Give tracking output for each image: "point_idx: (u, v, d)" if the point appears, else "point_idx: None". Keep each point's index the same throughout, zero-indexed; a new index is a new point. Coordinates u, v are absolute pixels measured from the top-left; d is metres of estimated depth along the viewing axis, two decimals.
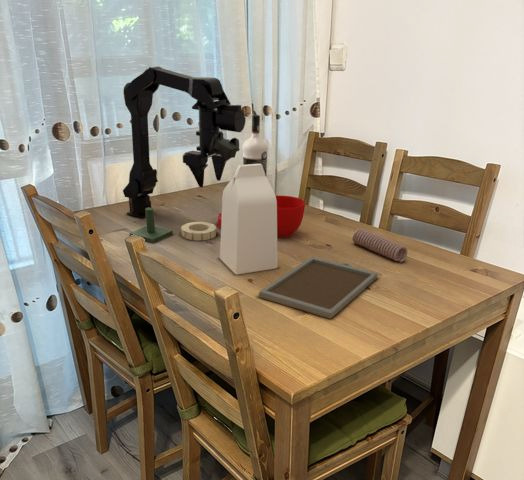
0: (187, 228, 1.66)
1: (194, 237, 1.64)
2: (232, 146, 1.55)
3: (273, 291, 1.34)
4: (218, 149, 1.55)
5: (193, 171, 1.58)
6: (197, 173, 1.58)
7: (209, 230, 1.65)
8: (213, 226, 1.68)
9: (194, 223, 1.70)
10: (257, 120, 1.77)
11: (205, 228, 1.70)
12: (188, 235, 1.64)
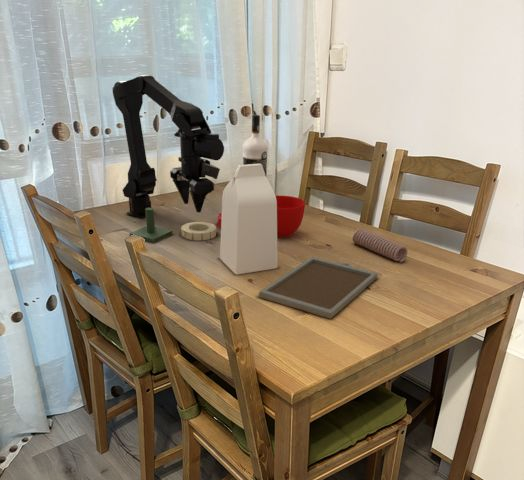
0: (187, 228, 1.66)
1: (194, 237, 1.64)
2: (214, 166, 1.65)
3: (273, 291, 1.34)
4: (209, 172, 1.63)
5: (196, 199, 1.60)
6: (199, 199, 1.61)
7: (209, 230, 1.65)
8: (213, 226, 1.68)
9: (194, 223, 1.70)
10: (257, 120, 1.77)
11: (205, 228, 1.70)
12: (188, 235, 1.64)
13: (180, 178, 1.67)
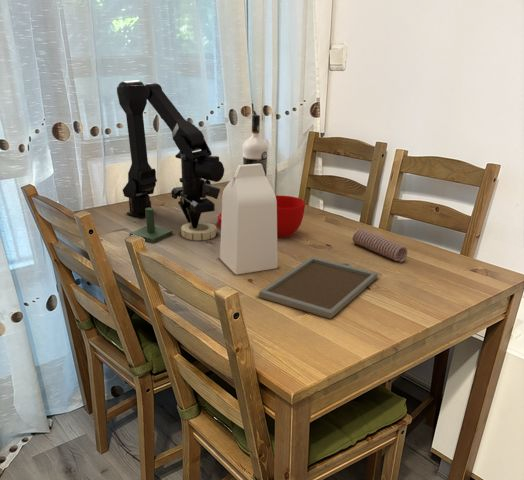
0: (187, 228, 1.66)
1: (194, 237, 1.64)
2: (214, 186, 1.68)
3: (273, 291, 1.34)
4: (209, 192, 1.66)
5: (192, 215, 1.66)
6: (195, 216, 1.67)
7: (209, 230, 1.65)
8: (213, 226, 1.68)
9: None
10: (257, 120, 1.77)
11: (205, 228, 1.70)
12: (188, 235, 1.64)
13: (185, 201, 1.68)
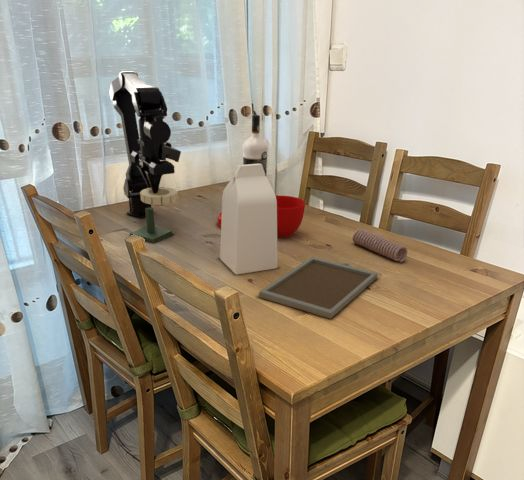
0: (146, 192, 1.59)
1: (153, 201, 1.56)
2: (175, 149, 1.61)
3: (273, 291, 1.34)
4: (169, 154, 1.58)
5: (151, 179, 1.58)
6: (155, 180, 1.59)
7: (169, 194, 1.58)
8: (174, 191, 1.61)
9: None
10: (257, 120, 1.77)
11: (166, 193, 1.63)
12: (147, 199, 1.57)
13: (145, 164, 1.60)
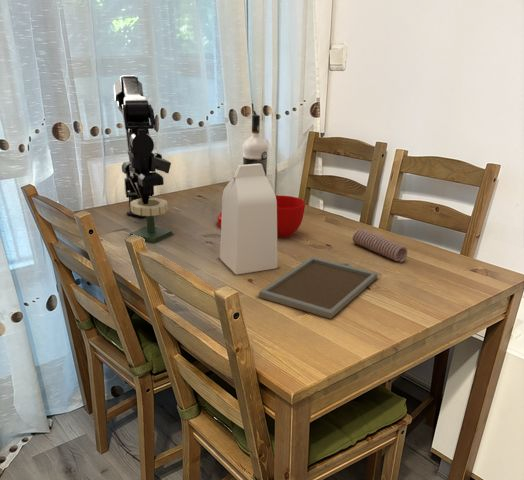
0: (136, 203, 1.60)
1: (143, 212, 1.57)
2: (165, 160, 1.62)
3: (273, 291, 1.34)
4: (159, 166, 1.59)
5: (141, 190, 1.60)
6: (145, 191, 1.61)
7: (159, 205, 1.59)
8: (164, 202, 1.62)
9: None
10: (257, 120, 1.77)
11: (156, 204, 1.64)
12: (136, 210, 1.58)
13: (135, 175, 1.62)
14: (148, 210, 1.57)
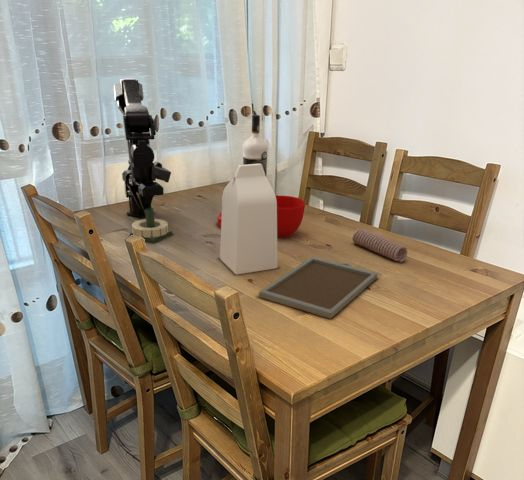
0: (137, 225, 1.64)
1: (144, 234, 1.61)
2: (165, 169, 1.64)
3: (273, 291, 1.34)
4: (159, 175, 1.61)
5: (143, 200, 1.61)
6: (146, 201, 1.62)
7: (159, 227, 1.63)
8: (165, 223, 1.66)
9: None
10: (257, 120, 1.77)
11: (157, 225, 1.67)
12: (138, 232, 1.61)
13: (134, 183, 1.64)
14: (149, 232, 1.61)
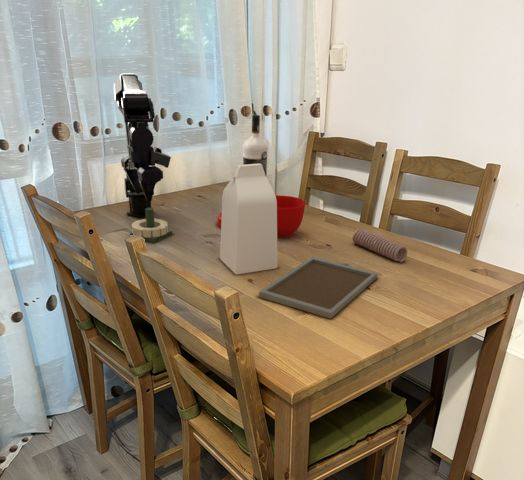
0: (137, 225, 1.64)
1: (144, 234, 1.61)
2: (165, 154, 1.61)
3: (273, 291, 1.34)
4: (159, 160, 1.58)
5: (145, 187, 1.56)
6: (148, 188, 1.57)
7: (159, 227, 1.63)
8: (165, 223, 1.66)
9: None
10: (257, 120, 1.77)
11: (157, 225, 1.67)
12: (138, 232, 1.61)
13: (131, 167, 1.63)
14: (149, 232, 1.61)
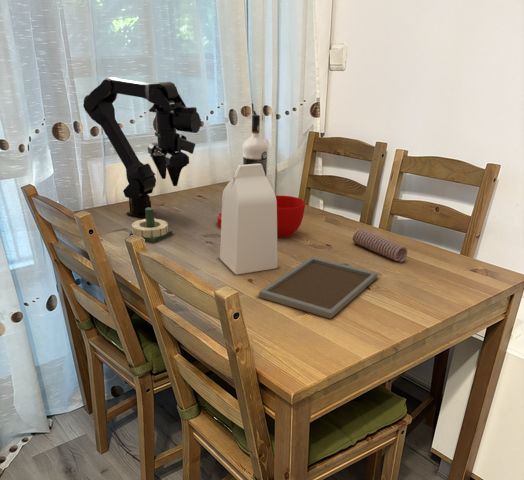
0: (137, 225, 1.64)
1: (144, 234, 1.61)
2: (190, 141, 1.70)
3: (273, 291, 1.34)
4: (184, 146, 1.67)
5: (171, 172, 1.65)
6: (175, 173, 1.66)
7: (159, 227, 1.63)
8: (165, 223, 1.66)
9: None
10: (257, 120, 1.77)
11: (157, 225, 1.67)
12: (138, 232, 1.61)
13: (157, 153, 1.72)
14: (149, 232, 1.61)
